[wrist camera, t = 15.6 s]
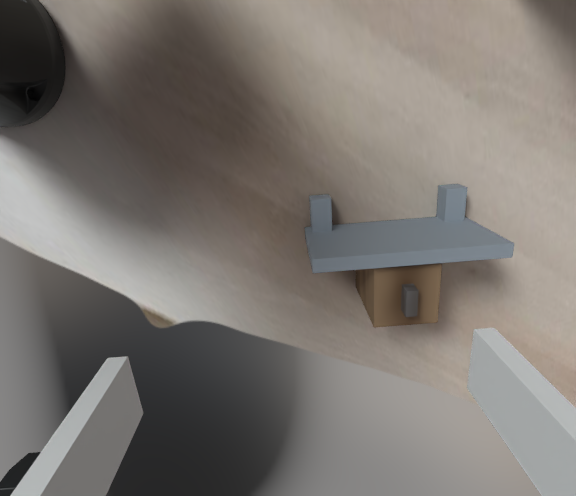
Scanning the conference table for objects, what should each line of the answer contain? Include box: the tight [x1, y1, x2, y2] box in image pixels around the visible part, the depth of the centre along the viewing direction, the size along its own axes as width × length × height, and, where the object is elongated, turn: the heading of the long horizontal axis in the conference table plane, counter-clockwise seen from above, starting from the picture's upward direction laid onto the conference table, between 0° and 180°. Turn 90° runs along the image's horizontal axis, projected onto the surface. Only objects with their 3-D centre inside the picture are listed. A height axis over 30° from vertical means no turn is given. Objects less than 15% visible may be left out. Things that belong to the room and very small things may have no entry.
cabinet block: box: [356, 263, 442, 327], centre depth 43 cm, size 7×7×12 cm
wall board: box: [305, 184, 514, 273], centre depth 40 cm, size 20×6×11 cm, turn 94°
